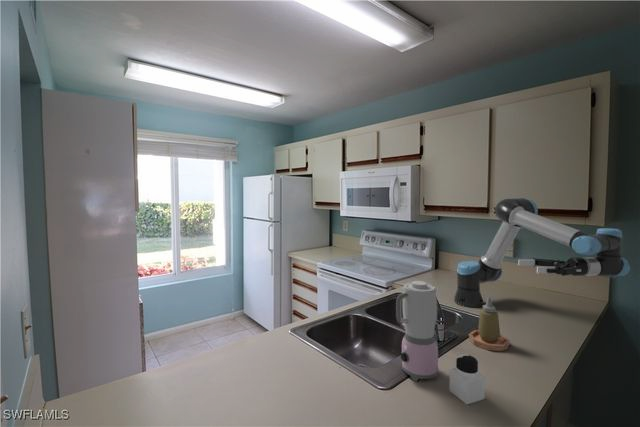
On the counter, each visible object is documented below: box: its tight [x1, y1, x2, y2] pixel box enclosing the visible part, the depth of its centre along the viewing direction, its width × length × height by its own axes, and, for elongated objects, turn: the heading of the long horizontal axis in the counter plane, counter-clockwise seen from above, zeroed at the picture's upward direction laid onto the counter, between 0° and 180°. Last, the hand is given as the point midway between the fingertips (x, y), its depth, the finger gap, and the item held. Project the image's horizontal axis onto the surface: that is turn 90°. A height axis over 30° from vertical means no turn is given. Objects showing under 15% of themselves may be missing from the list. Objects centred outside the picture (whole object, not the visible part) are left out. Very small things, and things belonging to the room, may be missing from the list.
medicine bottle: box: [449, 353, 486, 405], centre depth 93 cm, size 7×7×12 cm
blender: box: [395, 280, 439, 381], centre depth 105 cm, size 16×12×32 cm
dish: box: [468, 329, 511, 352], centre depth 126 cm, size 14×14×2 cm
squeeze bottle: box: [477, 297, 501, 343], centre depth 125 cm, size 8×8×18 cm
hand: (527, 266), depth 127 cm, fingers open, 13 cm apart
